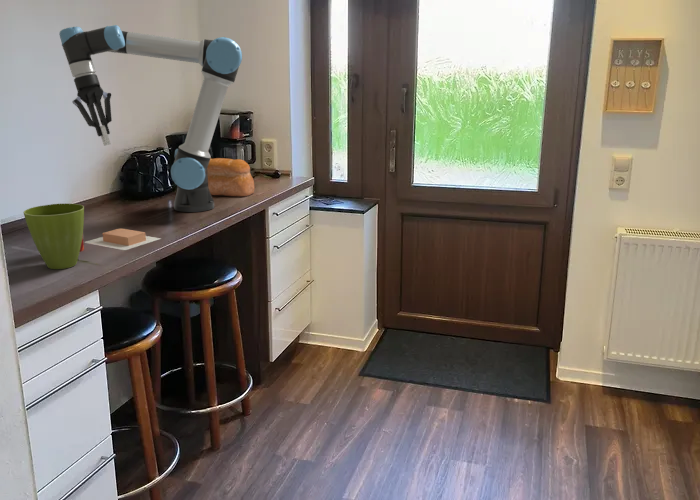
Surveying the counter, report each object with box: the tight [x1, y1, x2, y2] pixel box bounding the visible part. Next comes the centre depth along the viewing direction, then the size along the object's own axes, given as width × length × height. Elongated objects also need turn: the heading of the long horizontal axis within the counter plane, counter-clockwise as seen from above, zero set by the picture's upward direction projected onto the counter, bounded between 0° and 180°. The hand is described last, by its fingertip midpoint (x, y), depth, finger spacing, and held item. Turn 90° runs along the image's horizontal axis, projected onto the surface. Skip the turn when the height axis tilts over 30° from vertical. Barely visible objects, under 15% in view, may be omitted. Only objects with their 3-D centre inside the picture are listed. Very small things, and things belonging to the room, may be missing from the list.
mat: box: [83, 235, 162, 251], centre depth 201 cm, size 15×18×1 cm
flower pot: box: [23, 203, 85, 270], centre depth 175 cm, size 15×15×16 cm
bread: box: [207, 157, 256, 198], centre depth 274 cm, size 14×26×15 cm, turn 75°
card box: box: [102, 228, 147, 246], centre depth 200 cm, size 7×3×11 cm
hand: (107, 144), depth 221 cm, fingers closed
